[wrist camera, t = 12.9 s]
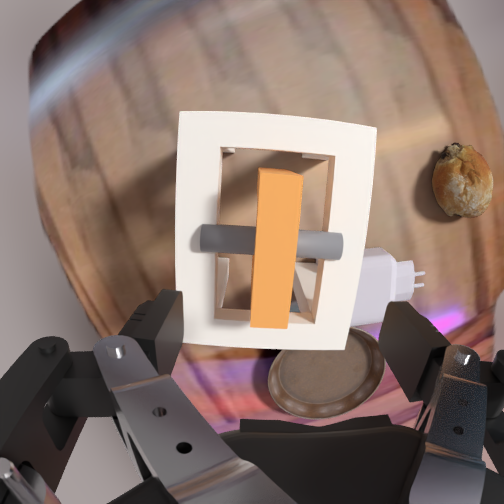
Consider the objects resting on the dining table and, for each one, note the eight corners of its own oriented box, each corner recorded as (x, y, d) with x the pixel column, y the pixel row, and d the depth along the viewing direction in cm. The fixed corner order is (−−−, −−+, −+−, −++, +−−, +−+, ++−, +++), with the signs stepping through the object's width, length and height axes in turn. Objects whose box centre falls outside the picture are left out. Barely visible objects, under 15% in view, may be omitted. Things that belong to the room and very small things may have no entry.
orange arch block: (258, 167, 28) (260, 172, 18) (285, 169, 28) (303, 175, 18) (251, 272, 31) (250, 327, 21) (277, 273, 31) (287, 329, 21)
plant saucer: (254, 332, 43) (254, 344, 40) (376, 302, 42) (384, 312, 39) (279, 416, 48) (281, 429, 45) (380, 390, 47) (386, 402, 44)
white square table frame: (210, 131, 35) (176, 109, 19) (327, 140, 35) (381, 126, 19) (205, 275, 40) (175, 348, 24) (313, 281, 41) (347, 356, 24)
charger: (413, 301, 42) (316, 316, 42) (417, 241, 39) (314, 251, 40) (427, 316, 37) (323, 333, 38) (434, 250, 35) (322, 263, 35)
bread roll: (415, 197, 41) (439, 232, 35) (431, 133, 34) (463, 160, 28) (465, 200, 41) (490, 232, 35) (483, 142, 34) (515, 169, 28)
